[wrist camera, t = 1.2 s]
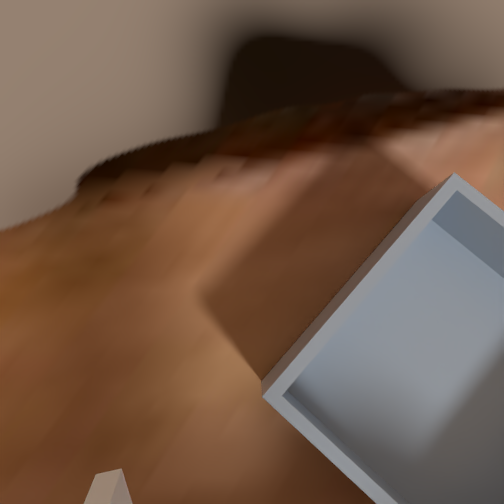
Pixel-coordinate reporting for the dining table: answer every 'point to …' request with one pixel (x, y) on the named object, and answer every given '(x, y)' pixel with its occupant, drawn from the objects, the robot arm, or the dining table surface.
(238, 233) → the dining table surface
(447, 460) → the bin
